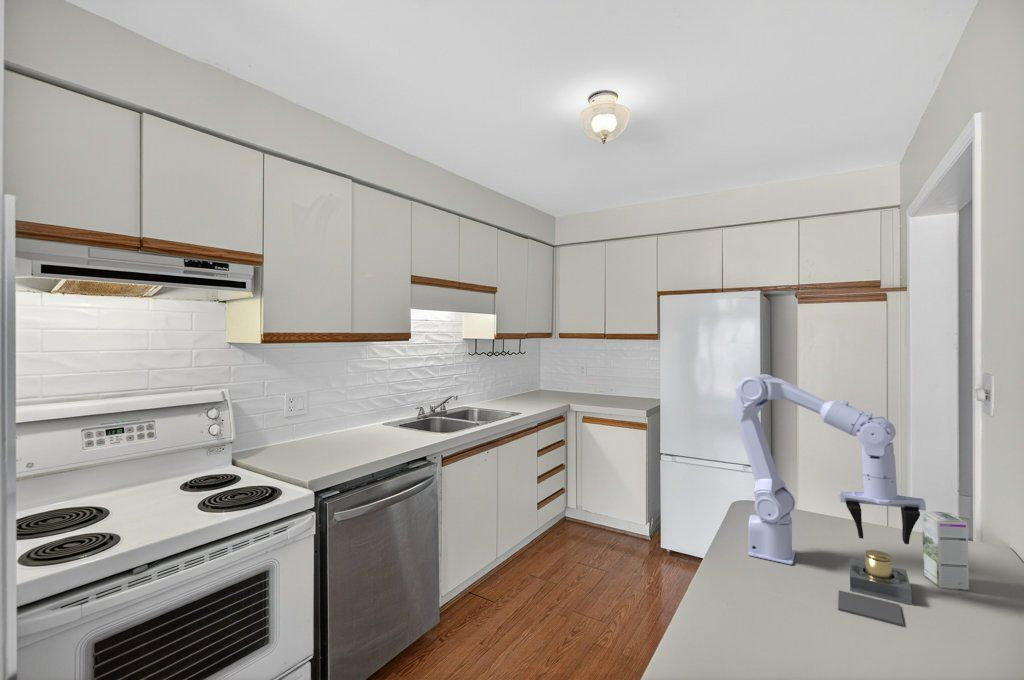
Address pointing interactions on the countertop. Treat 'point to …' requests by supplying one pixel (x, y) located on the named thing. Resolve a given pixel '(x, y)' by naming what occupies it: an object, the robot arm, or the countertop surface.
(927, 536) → the syrup box
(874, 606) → the rubber mat
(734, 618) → the countertop surface
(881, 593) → the housing
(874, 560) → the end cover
